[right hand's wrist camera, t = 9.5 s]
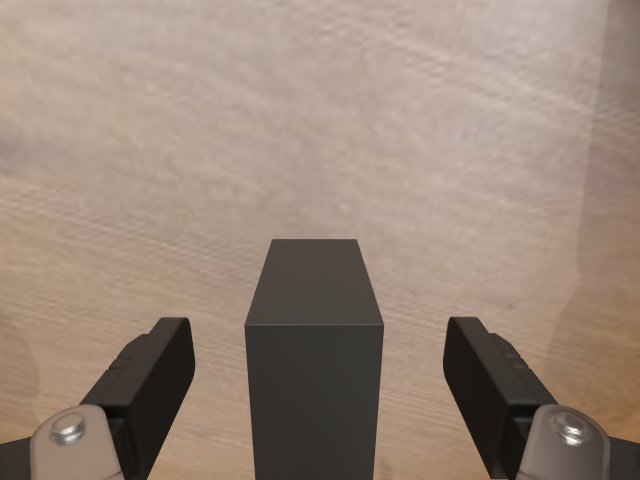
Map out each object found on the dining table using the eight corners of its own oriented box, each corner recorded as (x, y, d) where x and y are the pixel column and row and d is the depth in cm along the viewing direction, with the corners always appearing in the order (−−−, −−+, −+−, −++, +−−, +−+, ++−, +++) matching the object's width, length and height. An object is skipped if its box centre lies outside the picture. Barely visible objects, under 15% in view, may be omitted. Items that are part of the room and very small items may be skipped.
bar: (272, 238, 22) (244, 324, 13) (356, 239, 22) (384, 324, 13) (283, 535, 30) (271, 706, 22) (344, 534, 31) (356, 704, 22)
